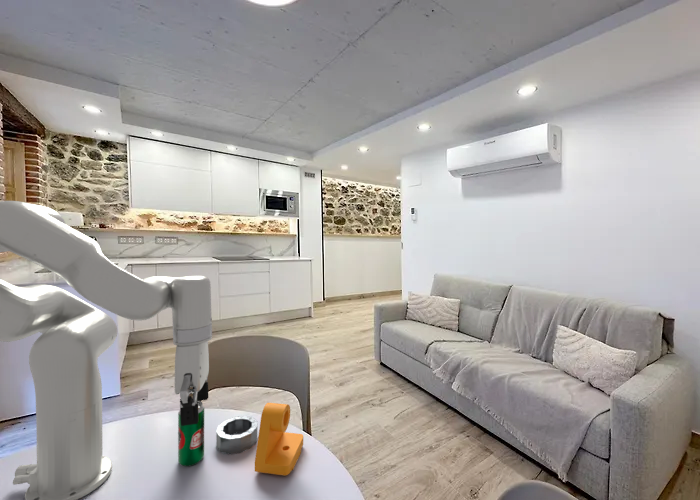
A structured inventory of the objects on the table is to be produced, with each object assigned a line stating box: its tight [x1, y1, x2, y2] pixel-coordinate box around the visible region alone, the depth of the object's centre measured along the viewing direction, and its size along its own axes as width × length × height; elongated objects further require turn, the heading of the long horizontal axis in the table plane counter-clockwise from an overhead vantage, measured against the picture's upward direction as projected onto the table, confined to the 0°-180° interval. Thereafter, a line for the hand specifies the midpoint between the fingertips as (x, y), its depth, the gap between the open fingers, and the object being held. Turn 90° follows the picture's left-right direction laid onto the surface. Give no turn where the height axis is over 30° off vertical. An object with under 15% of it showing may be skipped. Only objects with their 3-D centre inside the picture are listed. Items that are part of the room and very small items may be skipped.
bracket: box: [254, 402, 304, 476], centre depth 68 cm, size 11×7×12 cm, turn 171°
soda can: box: [177, 400, 205, 467], centre depth 68 cm, size 5×5×12 cm
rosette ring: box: [215, 415, 258, 455], centre depth 74 cm, size 9×9×4 cm
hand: (195, 411), depth 68 cm, fingers open, 9 cm apart
